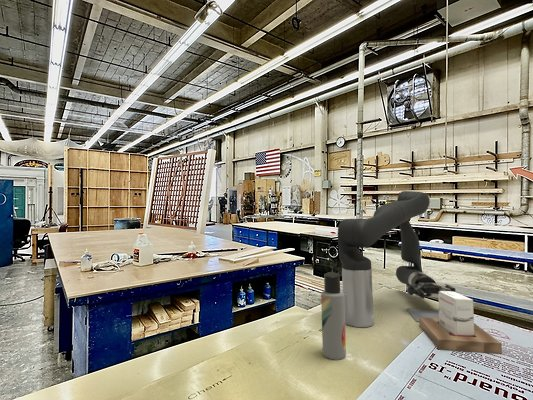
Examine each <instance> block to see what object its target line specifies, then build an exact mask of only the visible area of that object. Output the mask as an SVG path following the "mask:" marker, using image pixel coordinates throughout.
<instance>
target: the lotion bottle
mask: <svg viewBox="0 0 533 400" xmlns="http://www.w3.org/2000/svg"><path fill="white" fill-rule="evenodd" d="M323 274H324V275H323V278H324V279H323V280H324V282H323V283H324V290H322V291H321V292H320V293H321V294H320V305H321V307H320V308H321V337H322V353H323V356H324V357H325V358H328V359H329V360H342V359H345V358H346V356H347V338H346V337H347V336H346V325H345V305H344V293H343V292H342V290H341V280H340V279H341V278H340V277H341V276H340V274H339V273H337V272H334V271H329V272H326V273H323Z"/></svg>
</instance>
